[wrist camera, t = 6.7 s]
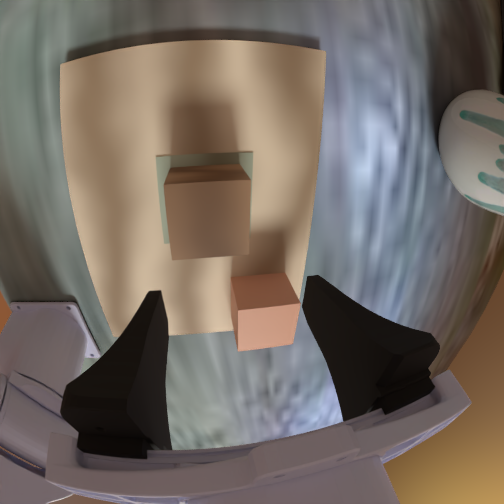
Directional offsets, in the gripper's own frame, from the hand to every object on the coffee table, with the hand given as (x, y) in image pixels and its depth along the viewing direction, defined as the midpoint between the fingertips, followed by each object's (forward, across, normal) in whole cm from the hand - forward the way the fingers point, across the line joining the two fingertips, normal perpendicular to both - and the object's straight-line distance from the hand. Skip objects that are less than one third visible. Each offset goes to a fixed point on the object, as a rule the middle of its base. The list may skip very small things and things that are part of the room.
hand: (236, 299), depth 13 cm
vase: (+9, -24, -9) cm, 27 cm away
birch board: (+9, +2, -1) cm, 9 cm away
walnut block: (+8, +1, -2) cm, 8 cm away
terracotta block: (+8, -3, +7) cm, 11 cm away
